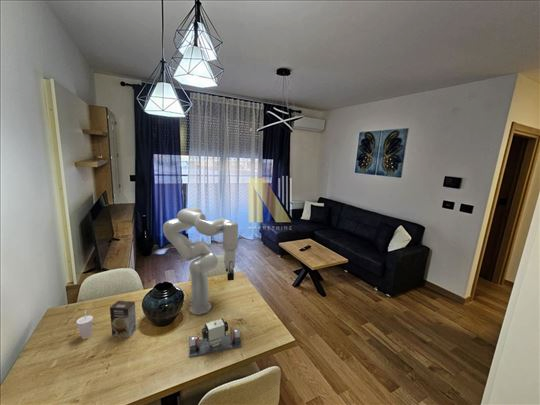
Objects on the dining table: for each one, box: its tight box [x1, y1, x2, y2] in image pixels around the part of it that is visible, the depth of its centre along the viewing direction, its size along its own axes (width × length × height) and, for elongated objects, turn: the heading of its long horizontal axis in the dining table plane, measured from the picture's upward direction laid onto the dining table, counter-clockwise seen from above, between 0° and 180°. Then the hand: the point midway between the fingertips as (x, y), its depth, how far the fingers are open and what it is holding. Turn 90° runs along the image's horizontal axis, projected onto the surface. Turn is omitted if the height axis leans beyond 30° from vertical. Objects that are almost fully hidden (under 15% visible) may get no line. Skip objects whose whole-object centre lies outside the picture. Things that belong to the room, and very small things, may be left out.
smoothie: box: [76, 310, 94, 339], centre depth 116 cm, size 6×6×14 cm
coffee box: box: [109, 300, 137, 338], centre depth 120 cm, size 9×6×16 cm
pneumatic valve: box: [201, 318, 229, 347], centre depth 114 cm, size 6×12×12 cm, turn 120°
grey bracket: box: [188, 326, 242, 359], centre depth 115 cm, size 24×9×7 cm, turn 107°
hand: (229, 275), depth 127 cm, fingers open, 9 cm apart
